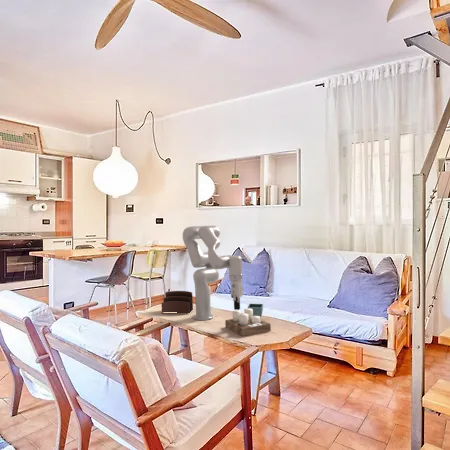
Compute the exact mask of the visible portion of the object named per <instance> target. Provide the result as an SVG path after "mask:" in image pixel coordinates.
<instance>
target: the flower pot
mask: <svg viewBox="0 0 450 450" xmlns="http://www.w3.org/2000/svg"><path fill="white" fill-rule="evenodd" d="M247 308H250V309H253V316H260V319H261V320H262V316H263V312H264V311H263V310H264V303H249V304H248V305H247Z"/></svg>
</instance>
